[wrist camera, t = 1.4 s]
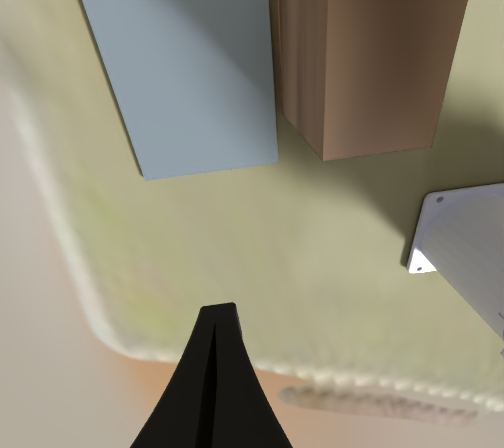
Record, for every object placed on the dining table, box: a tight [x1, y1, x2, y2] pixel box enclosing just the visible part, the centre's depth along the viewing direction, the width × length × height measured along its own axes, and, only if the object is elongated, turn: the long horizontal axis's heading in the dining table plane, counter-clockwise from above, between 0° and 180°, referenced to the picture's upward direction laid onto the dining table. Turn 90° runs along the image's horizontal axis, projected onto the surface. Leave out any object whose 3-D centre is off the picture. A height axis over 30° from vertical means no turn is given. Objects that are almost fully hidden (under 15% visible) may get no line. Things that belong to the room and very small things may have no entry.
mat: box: [82, 0, 278, 181], centre depth 15 cm, size 9×12×1 cm
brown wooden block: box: [278, 0, 468, 161], centre depth 12 cm, size 4×6×8 cm, turn 6°
